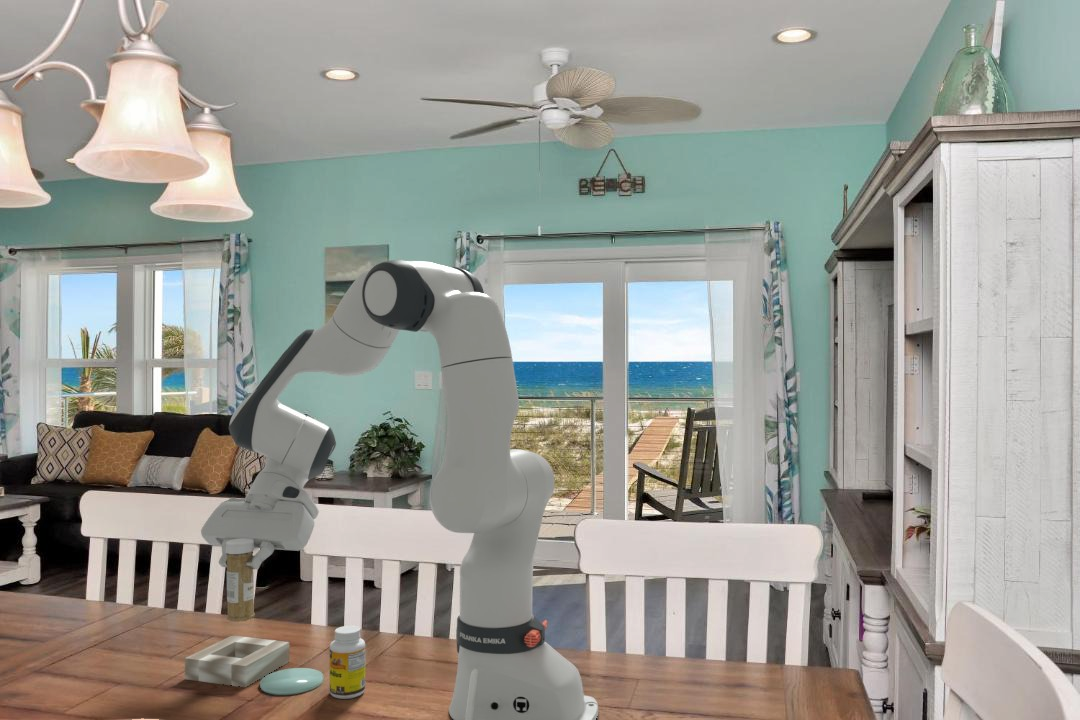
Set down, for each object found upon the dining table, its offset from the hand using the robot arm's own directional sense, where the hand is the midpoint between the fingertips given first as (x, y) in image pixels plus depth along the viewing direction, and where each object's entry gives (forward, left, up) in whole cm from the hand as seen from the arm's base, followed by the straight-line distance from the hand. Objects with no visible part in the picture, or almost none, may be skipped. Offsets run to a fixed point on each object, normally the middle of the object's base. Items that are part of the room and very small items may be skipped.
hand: (237, 566), depth 142 cm
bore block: (0, -1, -18) cm, 18 cm away
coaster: (-12, +1, -18) cm, 21 cm away
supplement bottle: (-23, +2, -18) cm, 29 cm away
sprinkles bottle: (0, -1, -9) cm, 9 cm away
